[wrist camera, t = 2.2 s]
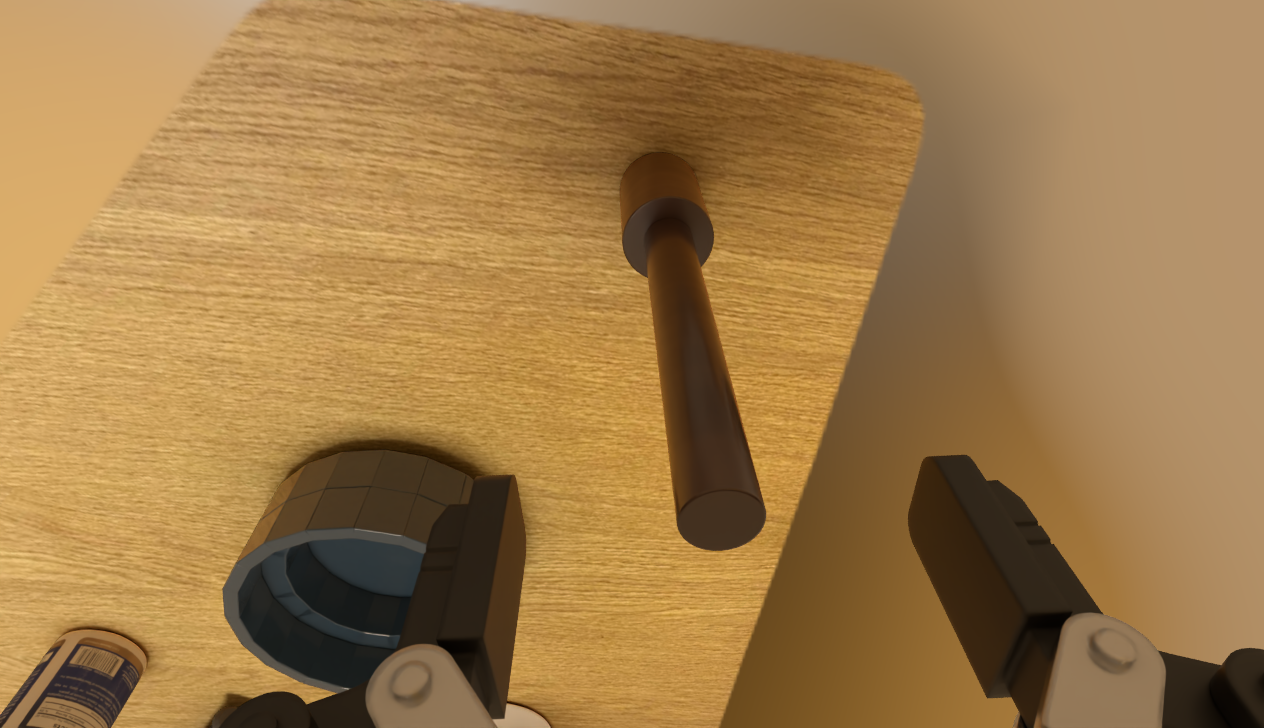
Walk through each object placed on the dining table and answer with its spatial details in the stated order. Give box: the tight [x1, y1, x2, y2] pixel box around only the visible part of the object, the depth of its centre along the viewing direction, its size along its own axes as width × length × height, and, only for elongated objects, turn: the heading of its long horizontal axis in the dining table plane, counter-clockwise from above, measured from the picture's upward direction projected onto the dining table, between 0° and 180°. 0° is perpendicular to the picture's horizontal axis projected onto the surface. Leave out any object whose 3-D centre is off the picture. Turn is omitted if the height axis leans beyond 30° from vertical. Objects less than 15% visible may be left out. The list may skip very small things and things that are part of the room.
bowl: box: [223, 450, 474, 693], centre depth 36 cm, size 13×13×6 cm
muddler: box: [620, 152, 766, 551], centre depth 20 cm, size 3×3×18 cm
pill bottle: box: [0, 630, 147, 728], centre depth 40 cm, size 5×5×10 cm
